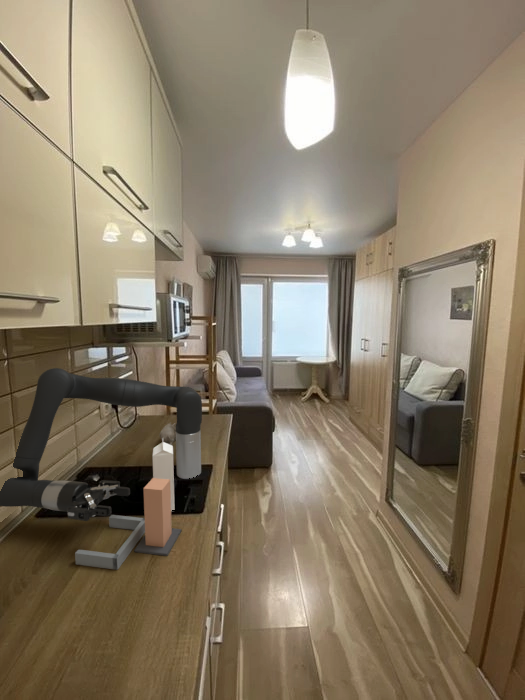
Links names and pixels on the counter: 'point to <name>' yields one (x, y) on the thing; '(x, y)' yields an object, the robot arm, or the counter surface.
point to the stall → (117, 559)
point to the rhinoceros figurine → (168, 433)
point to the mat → (155, 549)
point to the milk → (164, 466)
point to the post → (157, 512)
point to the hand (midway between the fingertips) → (120, 501)
